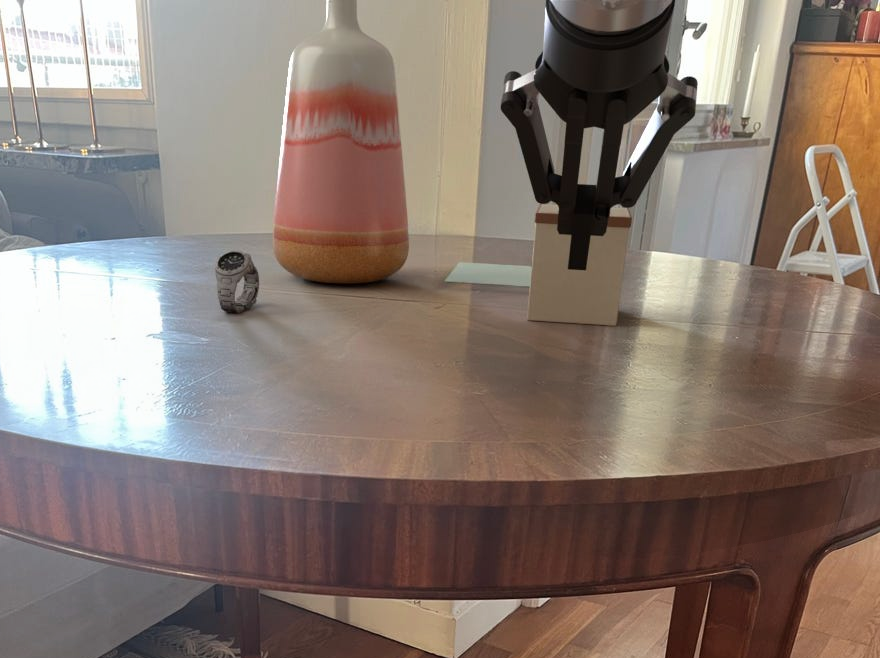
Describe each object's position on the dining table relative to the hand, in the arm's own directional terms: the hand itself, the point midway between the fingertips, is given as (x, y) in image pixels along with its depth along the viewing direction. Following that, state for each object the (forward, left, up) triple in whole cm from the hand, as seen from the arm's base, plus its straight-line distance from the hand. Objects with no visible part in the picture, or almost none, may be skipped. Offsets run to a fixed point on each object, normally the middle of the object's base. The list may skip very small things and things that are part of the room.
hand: (578, 255), depth 78 cm
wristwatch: (+30, -3, -7) cm, 31 cm away
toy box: (0, -10, -6) cm, 12 cm away
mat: (+5, -31, -7) cm, 32 cm away
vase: (+25, -22, -7) cm, 34 cm away
